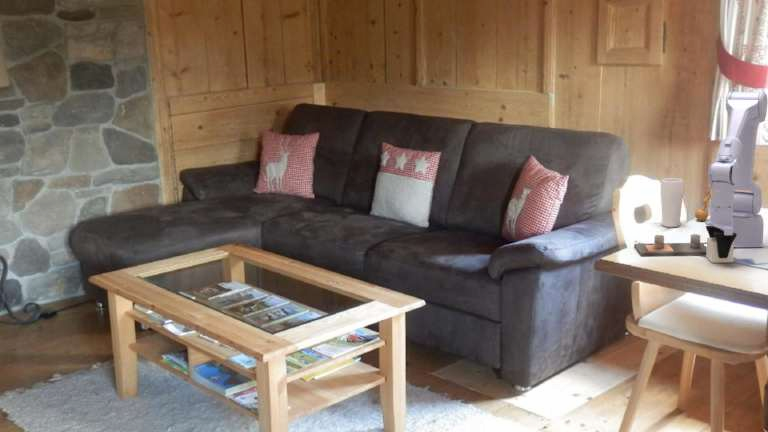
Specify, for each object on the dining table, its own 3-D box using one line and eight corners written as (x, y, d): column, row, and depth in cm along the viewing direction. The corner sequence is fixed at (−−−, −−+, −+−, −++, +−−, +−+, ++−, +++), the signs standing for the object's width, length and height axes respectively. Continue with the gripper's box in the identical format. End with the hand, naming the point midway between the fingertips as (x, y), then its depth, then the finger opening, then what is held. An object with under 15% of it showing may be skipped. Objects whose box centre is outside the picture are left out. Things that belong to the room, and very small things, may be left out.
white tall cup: (683, 228, 268) (685, 181, 265) (660, 228, 269) (662, 181, 266) (680, 223, 274) (682, 177, 271) (658, 223, 276) (659, 177, 272)
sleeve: (727, 256, 235) (728, 237, 234) (733, 262, 230) (734, 242, 228) (706, 256, 236) (706, 237, 234) (711, 262, 230) (712, 242, 229)
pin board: (711, 245, 247) (712, 230, 246) (721, 255, 237) (722, 239, 236) (634, 247, 249) (634, 232, 248) (640, 256, 240) (641, 240, 239)
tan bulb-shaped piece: (695, 217, 281) (696, 181, 279) (715, 218, 279) (716, 182, 276) (694, 223, 274) (695, 186, 271) (714, 224, 272) (715, 187, 269)
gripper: (699, 200, 237) (697, 247, 240) (714, 212, 223) (711, 262, 226) (725, 200, 236) (723, 247, 239) (742, 211, 222) (739, 261, 225)
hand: (719, 254), depth 232 cm, fingers closed on sleeve, 6 cm apart
